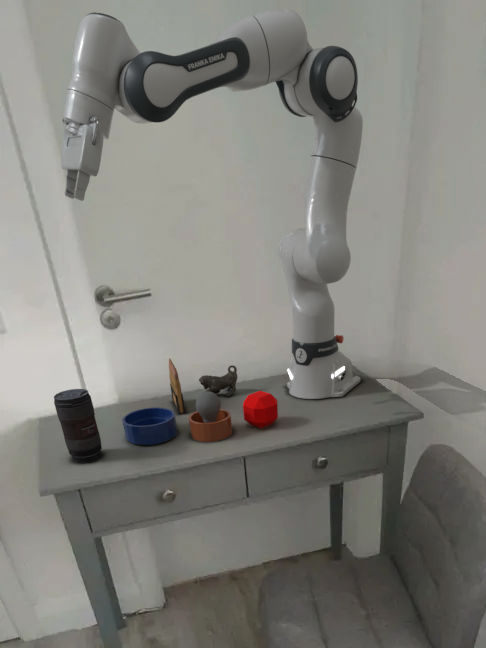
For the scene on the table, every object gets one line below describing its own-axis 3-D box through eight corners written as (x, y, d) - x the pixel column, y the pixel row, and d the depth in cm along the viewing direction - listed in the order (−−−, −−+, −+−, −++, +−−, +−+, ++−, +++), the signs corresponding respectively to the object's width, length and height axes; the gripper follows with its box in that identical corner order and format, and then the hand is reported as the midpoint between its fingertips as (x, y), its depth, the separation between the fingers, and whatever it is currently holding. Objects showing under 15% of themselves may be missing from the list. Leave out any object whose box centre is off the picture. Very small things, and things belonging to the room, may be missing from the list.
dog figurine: (234, 388, 177) (232, 362, 172) (242, 394, 172) (239, 367, 168) (195, 396, 173) (192, 369, 169) (202, 402, 169) (199, 375, 164)
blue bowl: (153, 423, 158) (150, 404, 155) (188, 432, 152) (185, 413, 149) (115, 439, 151) (111, 420, 148) (150, 450, 144) (146, 430, 141)
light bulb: (196, 430, 151) (190, 390, 145) (219, 426, 153) (214, 386, 147) (203, 439, 147) (198, 398, 141) (227, 434, 149) (222, 393, 143)
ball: (262, 416, 158) (260, 386, 153) (284, 423, 153) (282, 393, 148) (239, 425, 153) (236, 395, 149) (261, 433, 148) (258, 402, 144)
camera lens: (105, 448, 147) (90, 386, 138) (103, 462, 140) (88, 397, 131) (71, 452, 146) (54, 389, 137) (68, 466, 140) (50, 401, 131)
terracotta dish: (211, 423, 156) (208, 405, 153) (240, 430, 150) (239, 413, 148) (182, 436, 150) (180, 418, 147) (212, 445, 144) (210, 426, 142)
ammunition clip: (185, 413, 163) (178, 367, 155) (178, 414, 162) (171, 368, 155) (179, 401, 171) (172, 356, 164) (172, 401, 171) (165, 357, 163)
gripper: (116, 124, 112) (100, 207, 118) (92, 128, 127) (79, 202, 133) (82, 107, 109) (67, 193, 115) (61, 113, 124) (49, 190, 130)
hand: (73, 198), depth 124 cm, fingers open, 8 cm apart
